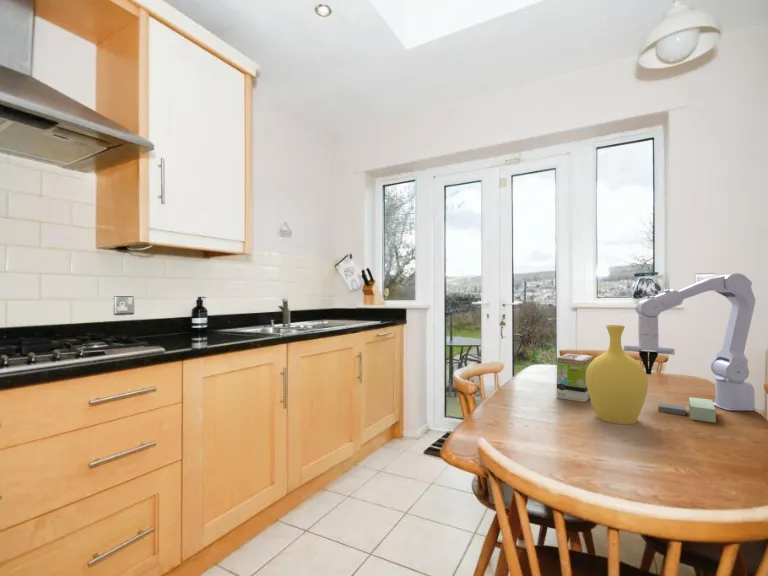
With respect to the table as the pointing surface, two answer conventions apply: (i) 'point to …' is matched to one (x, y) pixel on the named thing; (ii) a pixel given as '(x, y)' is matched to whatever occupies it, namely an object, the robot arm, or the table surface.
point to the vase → (616, 382)
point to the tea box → (573, 377)
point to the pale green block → (702, 409)
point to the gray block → (672, 408)
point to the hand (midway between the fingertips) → (648, 373)
